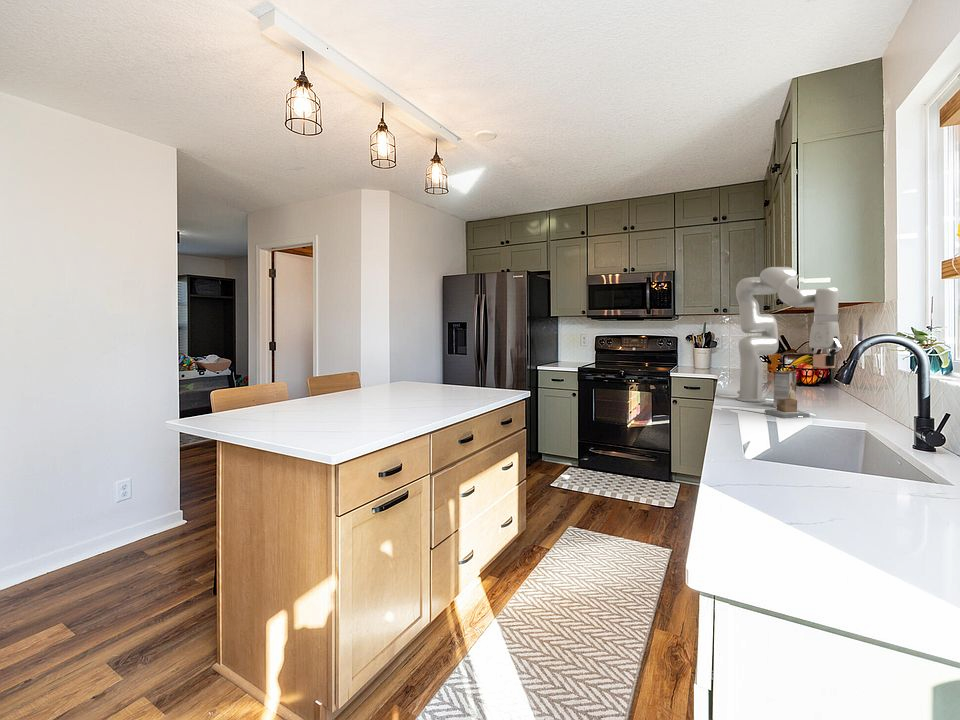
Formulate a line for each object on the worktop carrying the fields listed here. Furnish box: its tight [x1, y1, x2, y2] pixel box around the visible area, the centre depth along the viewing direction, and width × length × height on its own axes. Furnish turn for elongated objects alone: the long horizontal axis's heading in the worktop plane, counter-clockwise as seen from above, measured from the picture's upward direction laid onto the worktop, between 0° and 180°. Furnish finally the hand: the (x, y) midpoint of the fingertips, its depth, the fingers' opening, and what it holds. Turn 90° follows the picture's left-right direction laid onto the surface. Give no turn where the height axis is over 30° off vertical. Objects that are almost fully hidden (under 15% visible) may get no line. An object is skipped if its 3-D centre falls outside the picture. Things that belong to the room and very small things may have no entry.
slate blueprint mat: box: [764, 408, 811, 419], centre depth 190 cm, size 11×11×2 cm
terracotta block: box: [812, 353, 837, 369], centre depth 182 cm, size 5×5×5 cm
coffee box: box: [773, 370, 798, 408], centre depth 207 cm, size 9×6×16 cm
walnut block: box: [776, 398, 798, 413], centre depth 190 cm, size 5×5×5 cm
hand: (824, 364), depth 183 cm, fingers closed on terracotta block, 5 cm apart
